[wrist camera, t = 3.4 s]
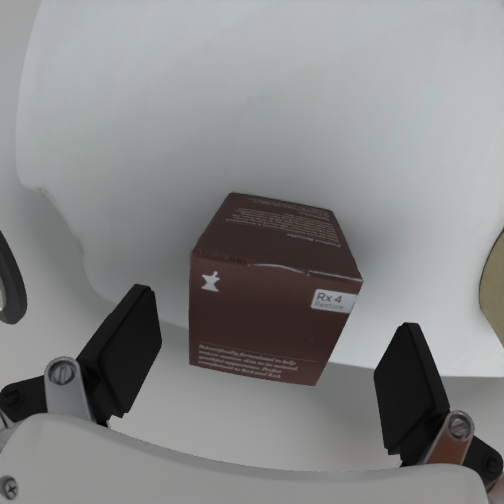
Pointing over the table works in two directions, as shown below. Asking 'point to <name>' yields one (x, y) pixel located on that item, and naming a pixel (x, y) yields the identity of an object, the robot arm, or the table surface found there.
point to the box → (270, 290)
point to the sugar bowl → (494, 289)
